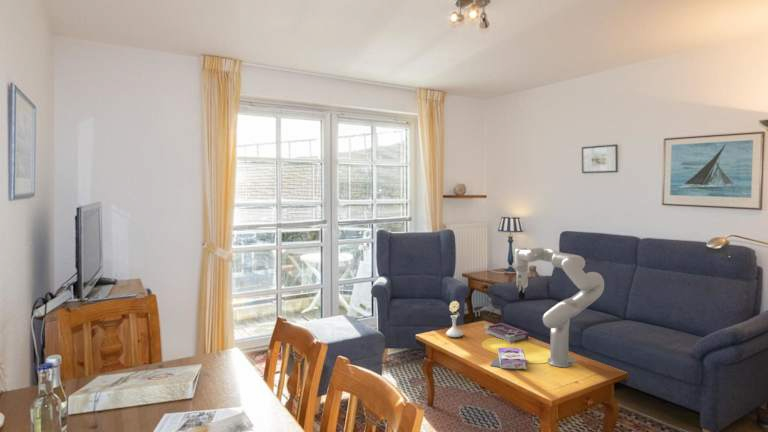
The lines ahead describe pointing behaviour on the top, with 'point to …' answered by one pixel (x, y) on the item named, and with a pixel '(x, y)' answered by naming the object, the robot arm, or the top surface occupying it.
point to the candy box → (512, 358)
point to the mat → (497, 363)
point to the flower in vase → (454, 321)
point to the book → (506, 332)
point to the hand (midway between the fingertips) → (521, 298)
